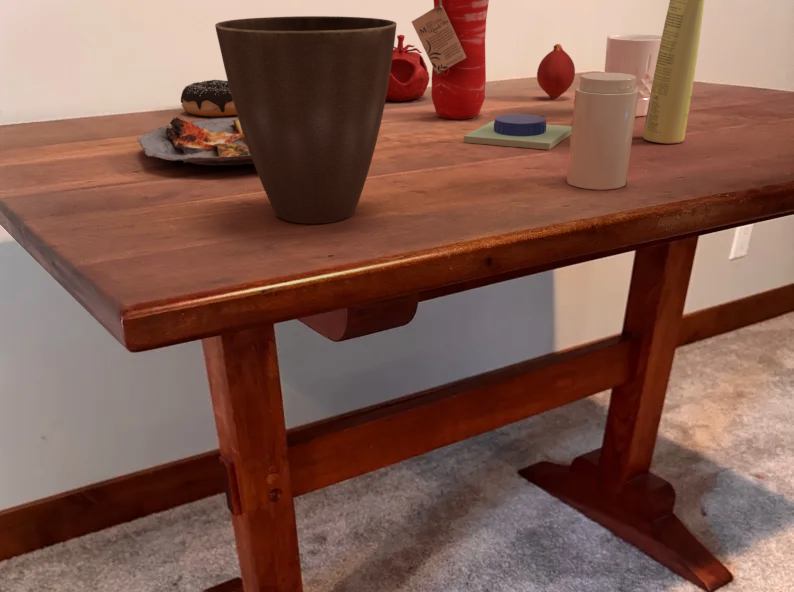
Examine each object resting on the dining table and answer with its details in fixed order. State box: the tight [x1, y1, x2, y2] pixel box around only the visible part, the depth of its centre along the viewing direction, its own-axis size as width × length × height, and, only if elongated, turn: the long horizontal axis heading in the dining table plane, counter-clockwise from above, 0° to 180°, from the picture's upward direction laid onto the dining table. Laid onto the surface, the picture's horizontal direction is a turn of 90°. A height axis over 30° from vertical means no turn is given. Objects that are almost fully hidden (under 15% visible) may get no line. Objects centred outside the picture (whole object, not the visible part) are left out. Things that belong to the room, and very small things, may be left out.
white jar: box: [565, 71, 639, 191], centre depth 80 cm, size 6×6×10 cm
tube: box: [642, 0, 705, 144], centre depth 94 cm, size 6×5×20 cm
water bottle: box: [411, 0, 490, 120], centre depth 107 cm, size 12×8×25 cm, turn 135°
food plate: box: [136, 116, 254, 166], centre depth 95 cm, size 25×23×4 cm
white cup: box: [604, 33, 662, 118], centre depth 113 cm, size 8×8×10 cm
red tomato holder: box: [385, 34, 430, 102], centre depth 126 cm, size 10×10×9 cm
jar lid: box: [494, 113, 547, 136], centre depth 101 cm, size 6×6×2 cm
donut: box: [180, 79, 237, 118], centre depth 119 cm, size 11×12×4 cm
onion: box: [536, 43, 576, 100], centre depth 124 cm, size 6×6×8 cm
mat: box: [463, 119, 572, 151], centre depth 101 cm, size 11×11×1 cm
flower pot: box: [214, 15, 398, 225], centre depth 70 cm, size 15×15×16 cm
